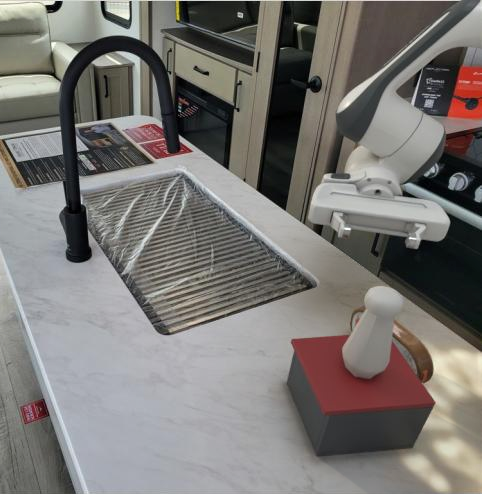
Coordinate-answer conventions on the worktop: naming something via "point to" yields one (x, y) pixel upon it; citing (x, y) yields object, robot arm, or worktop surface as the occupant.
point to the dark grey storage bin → (353, 423)
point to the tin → (406, 347)
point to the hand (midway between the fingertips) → (378, 239)
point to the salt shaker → (373, 333)
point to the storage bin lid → (357, 380)
